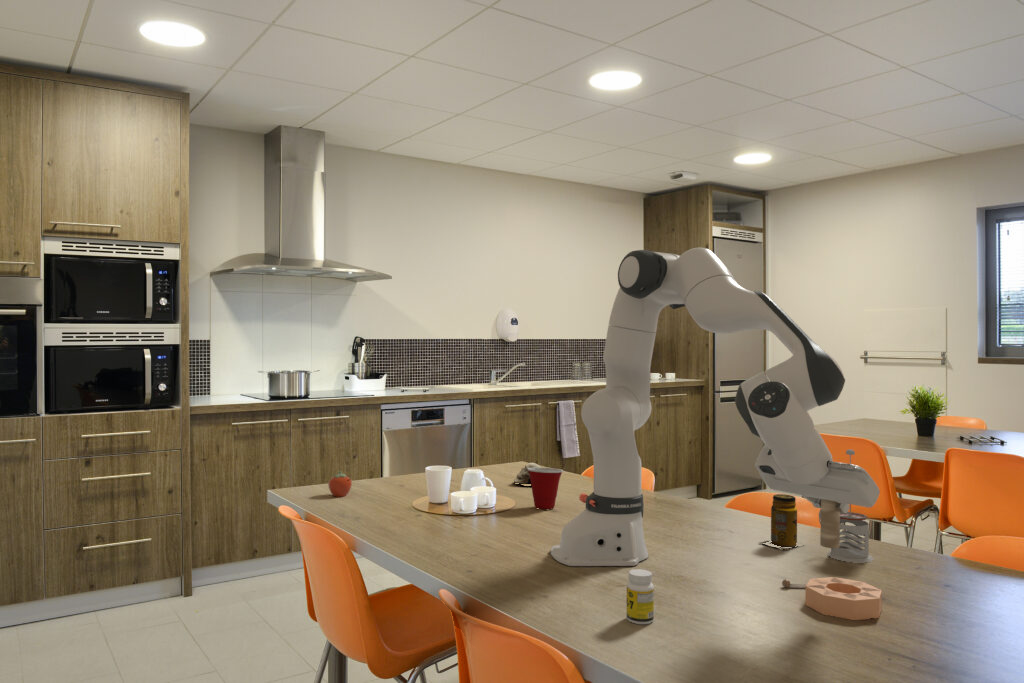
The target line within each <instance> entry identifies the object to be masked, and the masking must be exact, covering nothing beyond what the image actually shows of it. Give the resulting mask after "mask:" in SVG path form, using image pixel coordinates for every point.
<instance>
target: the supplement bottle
mask: <svg viewBox="0 0 1024 683" xmlns="http://www.w3.org/2000/svg"><path fill="white" fill-rule="evenodd" d="M652 575H653V573H652V572H651V571H649V570H647V569H640V568H639V569H635V568H634V569H631V570H629V572H628V581H627V583H626V619H627V621H628V622H630V623H631V622H632V624H634V623H635V624H634V625H649V624H652V623H653V622H654V618H655V617H654V615H655V614H654V612H655V611H654V610H655V608H654V605H655V602H654V601H655V599H654V597H655V592H654V590H655V586H654V584H653V583H652V580H653V579H652V578H653V576H652ZM651 622H652V623H651Z"/></svg>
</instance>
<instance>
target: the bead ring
mask: <svg viewBox="0 0 1024 683" xmlns="http://www.w3.org/2000/svg"><path fill="white" fill-rule="evenodd" d="M806 584H807V585H806V588H805V597H804V598H805V603H804V605H805V606H807V607H809V608H811V609H813V610H814V609H815V610H814V611H816V612H818V613H820V614H822V615H824V616H829V615H830V617H834V616H835V618H840V619H845V620H846V619H847V620H851V621H860V620H861V621H862V620H871V619H870V618H874V619H880V617H881V614H880V613H882V611H883V610H882V609H883V591H882V590H881V589H879V588H878V587H875V586H873V585H871V584H868V583H866V582H865V581H861V580H855V579H854V580H853V579H848V578H842V577H836V576H835V577H834V576H831V577H830V576H829V577H827V576H826V577H819V578H818V577H815V578H814V577H813V578H810V579H809V580H808V582H807V583H806ZM879 616H880V617H879Z"/></svg>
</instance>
